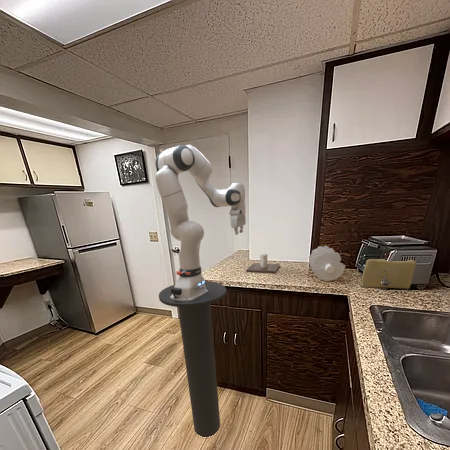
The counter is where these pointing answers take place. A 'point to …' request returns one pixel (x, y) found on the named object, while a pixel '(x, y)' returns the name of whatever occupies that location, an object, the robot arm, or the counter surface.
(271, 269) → the board
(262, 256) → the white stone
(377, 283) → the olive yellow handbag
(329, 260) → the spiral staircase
